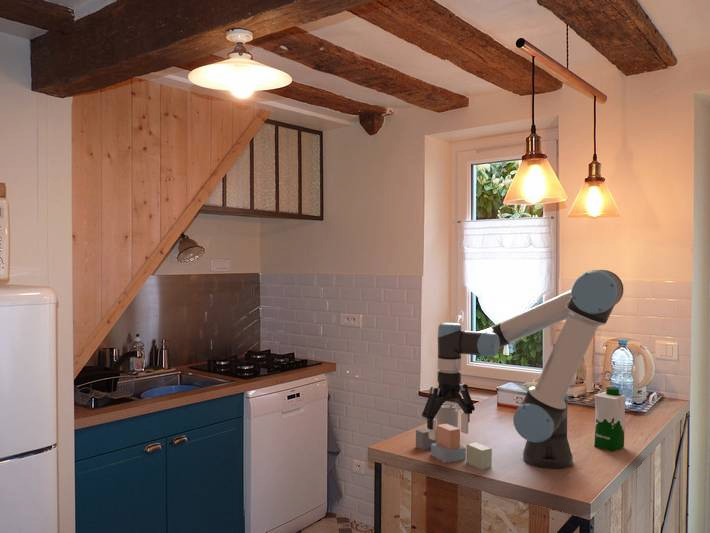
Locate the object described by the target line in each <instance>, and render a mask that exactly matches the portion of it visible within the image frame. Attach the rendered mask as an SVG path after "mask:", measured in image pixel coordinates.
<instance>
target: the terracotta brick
mask: <svg viewBox="0 0 710 533" xmlns="http://www.w3.org/2000/svg"><path fill="white" fill-rule="evenodd" d="M436 443H437V444H439V445H441V446H444V447H446V448H448V449H454V448H459V447H460V445H461V428H459V427H458V428H456V427H454V426H451V425H448V424H441V425H437V424H436Z"/></svg>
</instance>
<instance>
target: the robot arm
mask: <svg viewBox="0 0 710 533" xmlns="http://www.w3.org/2000/svg"><path fill="white" fill-rule="evenodd" d="M570 288H571V289H570V290H567V291H566V292H564V293H561V294H560V295H557V296H555V297H553V298H551V299H548V300H547V301H544V302H542V303H540V304H538V305H536V306H534V307H531V308H529V309H527V310H525V311H523V312H521V313H518V314H516V315H514V316H511V317H510V318H508V319H505V320H503V321H501V322H499V323H496V324H494V325H492V326H490V327H488V328H485V329H484V328H483V329H481V330H479V331H477V330H476V331H474V330H463V329H462V328H463V327H462V324H460V323H456V322H443V323H440V324H439V325H438V329H437V370H438V371H437V383H438V387H433V386H431V387H430V390H429V396H428V398H427V400H426V403H425V405H424V407H423V408H424V409H423V411H422V414H421V416H422V417H423V418H424V419H426V423H427V424H426V425H427V426H426V428H428V429H429V438H430V439H432V440H436V425H437V418H436V419H435V417H437V413H438V411H439V409H440V408H441V406H442V404H445V403H446V402H447V401H450V400H455V401H456V403H457V404H458V406H459V407H460V409H461V410H462V412H461V413H460V416H461V417H460V423H461V424H460V433H463V434H466V435H468V434H469V423H470V417H471V416H470V415H471V414H473V411H475V409H476V408H475V405H474V402H473V400H472V397H471V395H470V392H469V388H468V384H466V383H464V382H462V372H461V370H462V355H471V356H479V357H483V358H484V357H485V358H487V357H491V358H492V357H496V356H497V355H498V353H499V350H500V349H502V348H503V347H505V346H508V345H510V344H513V343H515V342H517V341H519V340H521V339H524V338H526V337H529V336H531V335H533V334H536V333H538V332H539V331H543V330H544V329H547V328H550V327H551V326H553V325H556V324H559V323H562V322H563V321H565V322H564V324H563V325H562V328H561V330H560V333H559V335H558V337H557V338H556V342H554V343H555V344H554V345H553V348H552V350H551V352H550V355H549V356H548V358H547V361H546V363H545V365H544V367H543V370H542V371H541V374H540V377H539V379H538V380H537V383H536V384H535V385H534V386H529V387H528V389H527V392H526V394H525V396H524V398H523V401H522V402H521V404H520V405H519V406H517V408H516V410H515V411H514V413H513V419H512V422H513V426H514V428H515V431H516V432H517V434H518V435H519V436H520V437H522V438H523V439H524V440H525V441H526V443H525V447H524V448H523V450H522V451H523V452H522V453H523V454H522V459H523V461H525V462H526V463H528V464H530V465H533V466H536V467H541V468H545V469H546V468H547V469H562V468H569V467H571V466H572V465H573V464H574V463H573V462H574V457H573V453H572V452H571V447H570V444H569V440H568V404H569V398H568V391H569V388H570V387H571V385H572V382H573V381H574V378H575V376H576V374H577V372H578V371H579V368H580V366H581V364H582V361H583V359H584V357H585V355H586V353H587V351H588V349H589V346H590V344H591V342H592V340H593V338H594V336H595V334H596V332H597V329H598V328H599V327H602V326H604V325H606V324H607V322H608V320H609V318H610V316H611V314H612V312H613V309H614V308H615V306H616V305H617V304H618V303H619V302H620V301H621V300H622V298H623V295H624V284H623V282H622V280H621V278H620V277H619V275H617V274H616V273H614V272H612V271H610V270H606V269H595V270H594V269H593V270H588V271H585V272H584V273H582V274H580V275H579V276H577V278H576V279H575V281H574V282H573V284H572V286H571V287H570Z"/></svg>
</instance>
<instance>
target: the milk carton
mask: <svg viewBox="0 0 710 533" xmlns="http://www.w3.org/2000/svg"><path fill="white" fill-rule="evenodd" d="M593 397H594V404H595V407H594V408H595V412H594V416H595V419H594V420H595V421H594V424H595V425H594V446H593V447H594V448H598V449H602V450H605V451H610V452H612V453H613V452H614V451H615V452H616V450H617V451H619V450H622V449H624V448H625V427H626V426H625V425H626V424H625V418H626V417H625V416H626V414H625V413H626V412H625V410H626V399H627V396H626V395H625V394H620V388H618V387H615V386H609V387H608V386H607V387H606V391H603V392H599V393H598V392H597V394H594V395H593ZM623 447H624V448H623ZM621 448H622V449H621Z"/></svg>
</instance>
